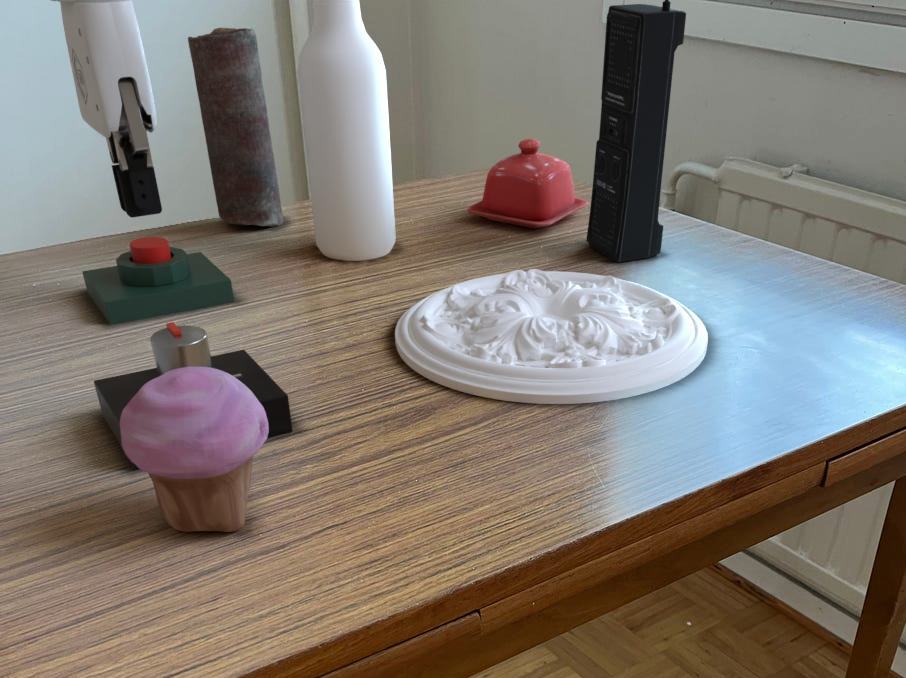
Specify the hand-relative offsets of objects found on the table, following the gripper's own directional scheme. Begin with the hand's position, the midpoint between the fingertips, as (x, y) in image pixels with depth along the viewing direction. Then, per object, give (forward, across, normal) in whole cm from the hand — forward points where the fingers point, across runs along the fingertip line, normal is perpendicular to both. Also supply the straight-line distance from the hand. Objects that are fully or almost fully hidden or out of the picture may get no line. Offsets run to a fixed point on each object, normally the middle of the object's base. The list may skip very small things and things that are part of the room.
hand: (141, 210), depth 92 cm
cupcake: (+8, +43, -8) cm, 45 cm away
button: (+5, 0, 0) cm, 5 cm away
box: (+8, 0, 0) cm, 8 cm away
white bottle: (+8, -4, +23) cm, 25 cm away
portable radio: (+8, +11, +48) cm, 50 cm away
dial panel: (+8, +29, -5) cm, 31 cm away
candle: (+8, -19, +16) cm, 26 cm away
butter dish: (+8, -5, +46) cm, 47 cm away
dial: (+5, +29, -5) cm, 30 cm away
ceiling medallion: (+8, +28, +28) cm, 40 cm away
